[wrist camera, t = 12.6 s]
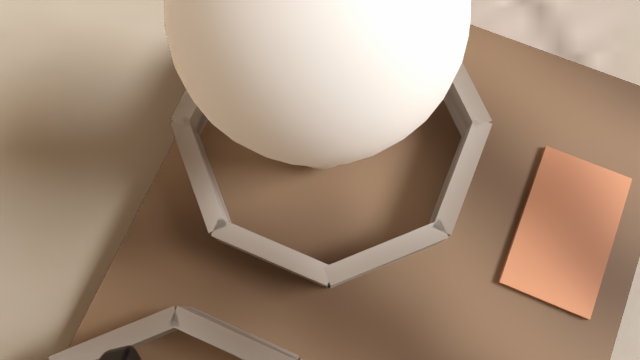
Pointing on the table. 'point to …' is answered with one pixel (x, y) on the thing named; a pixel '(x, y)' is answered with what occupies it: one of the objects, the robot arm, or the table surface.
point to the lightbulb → (317, 71)
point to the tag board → (395, 233)
